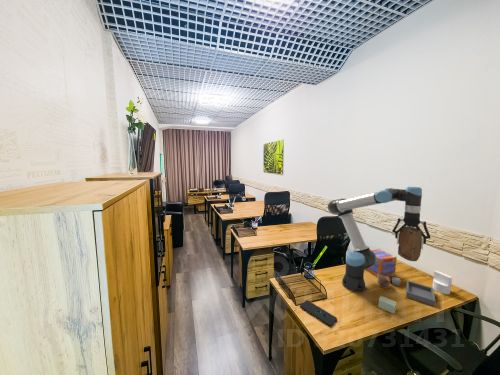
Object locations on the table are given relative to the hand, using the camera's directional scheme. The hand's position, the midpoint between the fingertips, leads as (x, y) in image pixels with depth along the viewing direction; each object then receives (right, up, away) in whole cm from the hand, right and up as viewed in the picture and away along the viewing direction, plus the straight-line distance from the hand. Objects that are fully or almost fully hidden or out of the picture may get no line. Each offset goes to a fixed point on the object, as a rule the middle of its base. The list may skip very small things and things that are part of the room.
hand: (409, 245), depth 125 cm
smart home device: (-60, -38, -8) cm, 72 cm away
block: (0, -8, +1) cm, 8 cm away
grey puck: (+7, -34, +21) cm, 41 cm away
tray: (+14, -36, +9) cm, 39 cm away
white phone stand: (+33, -35, +14) cm, 51 cm away
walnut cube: (-3, -34, +19) cm, 40 cm away
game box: (+5, -32, +37) cm, 50 cm away
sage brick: (-17, -37, -3) cm, 41 cm away
